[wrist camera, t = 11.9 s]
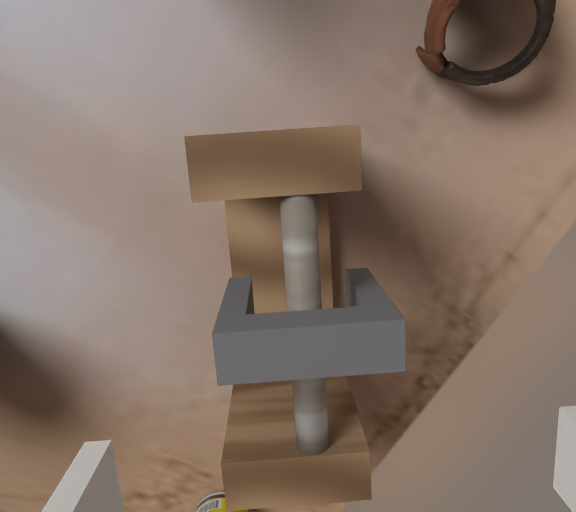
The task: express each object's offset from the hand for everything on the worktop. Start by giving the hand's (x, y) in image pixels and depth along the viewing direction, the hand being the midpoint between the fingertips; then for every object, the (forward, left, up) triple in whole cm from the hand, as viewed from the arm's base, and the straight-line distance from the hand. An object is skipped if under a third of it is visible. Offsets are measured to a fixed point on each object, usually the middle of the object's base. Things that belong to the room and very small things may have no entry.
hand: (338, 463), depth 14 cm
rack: (0, 0, -26) cm, 26 cm away
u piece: (0, 0, -17) cm, 17 cm away
